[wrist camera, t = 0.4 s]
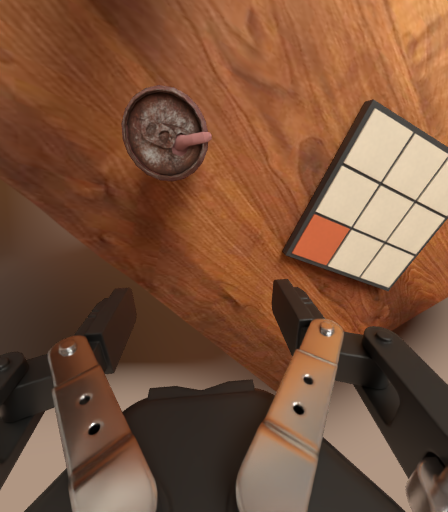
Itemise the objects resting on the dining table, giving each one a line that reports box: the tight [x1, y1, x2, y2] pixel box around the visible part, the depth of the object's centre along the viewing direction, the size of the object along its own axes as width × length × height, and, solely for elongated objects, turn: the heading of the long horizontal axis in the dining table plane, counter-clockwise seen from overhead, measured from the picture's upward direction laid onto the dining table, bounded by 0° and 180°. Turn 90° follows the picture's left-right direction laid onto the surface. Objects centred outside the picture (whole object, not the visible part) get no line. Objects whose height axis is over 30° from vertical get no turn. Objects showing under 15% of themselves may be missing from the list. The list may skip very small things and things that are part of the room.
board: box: [283, 100, 448, 291], centre depth 35 cm, size 22×22×2 cm
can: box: [122, 85, 212, 181], centre depth 22 cm, size 6×6×14 cm
